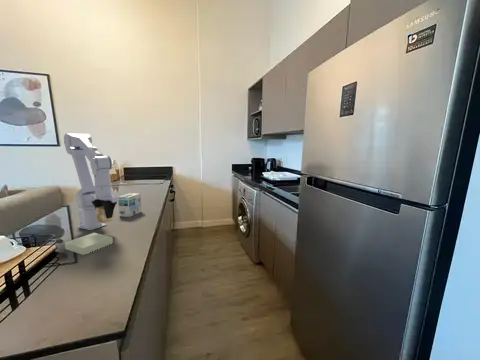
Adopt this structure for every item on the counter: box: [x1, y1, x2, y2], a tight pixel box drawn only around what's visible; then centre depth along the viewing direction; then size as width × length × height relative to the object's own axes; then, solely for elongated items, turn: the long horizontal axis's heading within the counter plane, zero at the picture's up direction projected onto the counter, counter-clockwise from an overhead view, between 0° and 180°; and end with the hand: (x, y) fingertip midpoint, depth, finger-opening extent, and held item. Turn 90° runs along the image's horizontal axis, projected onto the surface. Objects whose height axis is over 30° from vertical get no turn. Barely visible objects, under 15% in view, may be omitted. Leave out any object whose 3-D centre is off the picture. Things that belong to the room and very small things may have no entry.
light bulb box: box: [117, 192, 142, 218], centre depth 131 cm, size 11×7×11 cm, turn 168°
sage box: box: [64, 232, 114, 256], centre depth 90 cm, size 11×11×3 cm
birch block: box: [96, 206, 115, 224], centre depth 101 cm, size 4×4×6 cm
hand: (105, 217), depth 102 cm, fingers closed on birch block, 4 cm apart
